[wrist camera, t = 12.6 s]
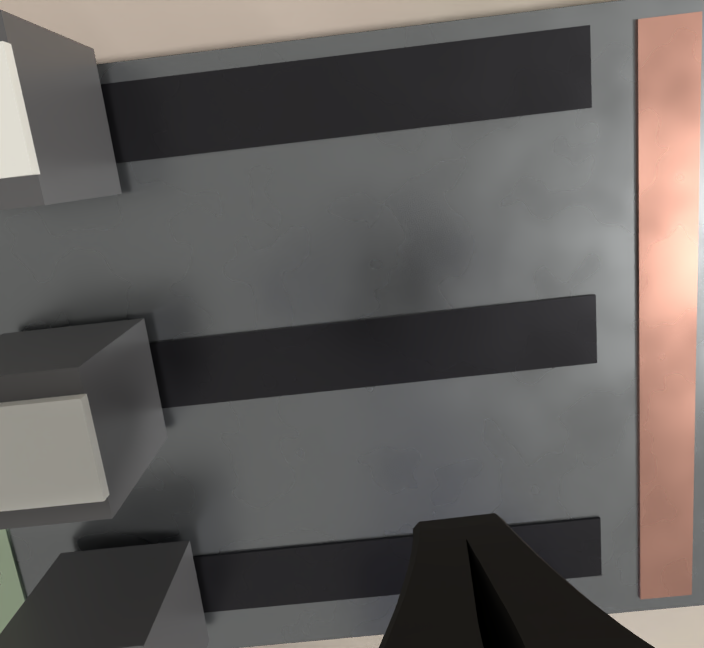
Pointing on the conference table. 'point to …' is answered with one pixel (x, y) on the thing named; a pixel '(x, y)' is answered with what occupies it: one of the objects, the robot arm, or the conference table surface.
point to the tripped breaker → (75, 421)
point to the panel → (398, 309)
